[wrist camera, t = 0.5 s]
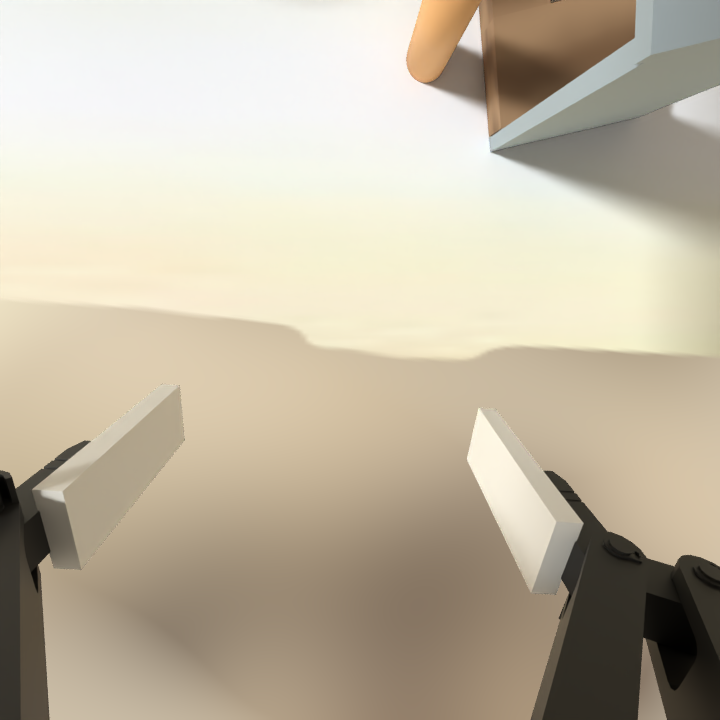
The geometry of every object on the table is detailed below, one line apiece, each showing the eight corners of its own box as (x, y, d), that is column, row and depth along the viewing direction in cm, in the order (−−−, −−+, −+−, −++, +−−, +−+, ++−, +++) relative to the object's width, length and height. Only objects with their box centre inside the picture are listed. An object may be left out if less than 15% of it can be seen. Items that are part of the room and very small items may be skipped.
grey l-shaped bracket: (480, 93, 33) (658, -104, 14) (646, 52, 33) (1095, -221, 13) (485, 153, 35) (650, 55, 15) (643, 116, 34) (1035, -39, 14)
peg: (403, 39, 32) (440, -110, 18) (443, 29, 32) (513, -130, 18) (409, 87, 33) (449, -18, 19) (448, 77, 33) (517, -36, 19)
